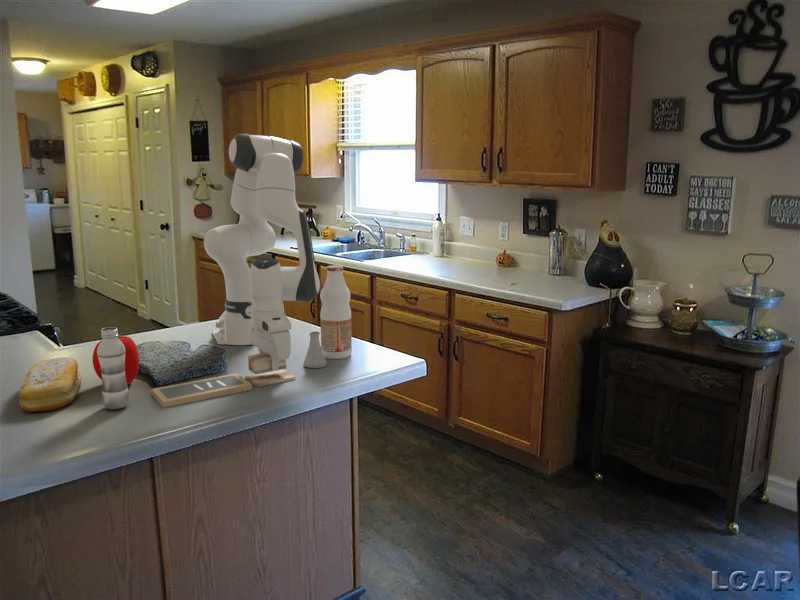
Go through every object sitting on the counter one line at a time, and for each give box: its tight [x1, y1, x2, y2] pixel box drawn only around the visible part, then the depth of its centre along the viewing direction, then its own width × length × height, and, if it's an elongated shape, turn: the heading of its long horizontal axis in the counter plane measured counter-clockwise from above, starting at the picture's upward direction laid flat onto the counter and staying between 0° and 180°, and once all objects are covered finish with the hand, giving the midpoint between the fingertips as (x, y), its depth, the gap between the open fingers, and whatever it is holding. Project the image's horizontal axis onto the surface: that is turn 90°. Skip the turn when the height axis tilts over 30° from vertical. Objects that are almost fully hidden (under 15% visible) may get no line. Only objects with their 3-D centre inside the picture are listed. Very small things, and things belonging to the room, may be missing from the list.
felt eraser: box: [247, 353, 287, 374], centre depth 182 cm, size 5×9×4 cm, turn 124°
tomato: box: [92, 334, 140, 386], centre depth 176 cm, size 13×11×14 cm
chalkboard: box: [151, 372, 253, 408], centre depth 173 cm, size 11×23×2 cm, turn 124°
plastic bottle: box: [97, 326, 131, 411], centre depth 160 cm, size 6×7×20 cm
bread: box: [18, 356, 83, 413], centre depth 170 cm, size 13×26×8 cm, turn 23°
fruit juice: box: [319, 264, 353, 360], centre depth 202 cm, size 9×9×28 cm
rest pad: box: [244, 369, 296, 388], centre depth 183 cm, size 9×11×1 cm
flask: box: [302, 330, 328, 369], centre depth 194 cm, size 7×7×10 cm
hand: (269, 366), depth 183 cm, fingers closed on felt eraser, 5 cm apart
